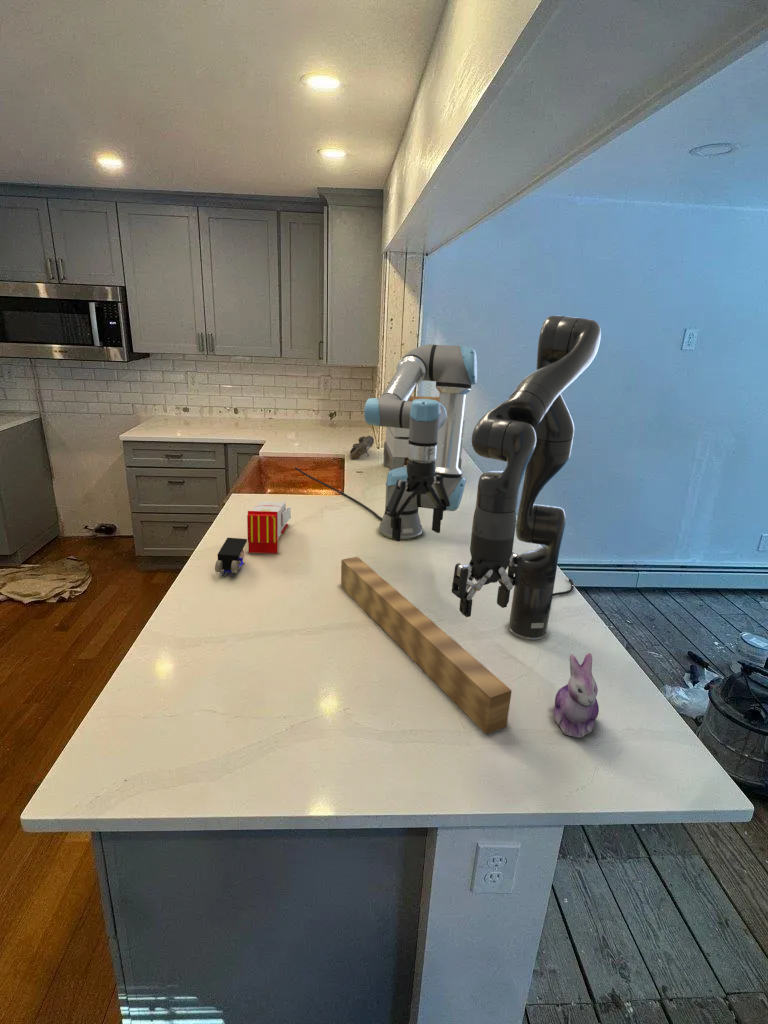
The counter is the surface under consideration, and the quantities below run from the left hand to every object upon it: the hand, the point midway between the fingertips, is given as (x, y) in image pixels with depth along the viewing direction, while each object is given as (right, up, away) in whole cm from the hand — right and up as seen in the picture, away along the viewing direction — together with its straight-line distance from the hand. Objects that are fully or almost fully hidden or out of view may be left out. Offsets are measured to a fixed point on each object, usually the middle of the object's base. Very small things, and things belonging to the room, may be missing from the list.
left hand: (416, 535), depth 155 cm
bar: (-3, -25, -20) cm, 32 cm away
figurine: (+29, -35, -44) cm, 63 cm away
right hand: (+10, -12, -48) cm, 51 cm away
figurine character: (-54, -11, +13) cm, 56 cm away
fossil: (-21, +37, +148) cm, 154 cm away
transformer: (+8, +25, +120) cm, 123 cm away
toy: (-48, -2, +37) cm, 60 cm away
